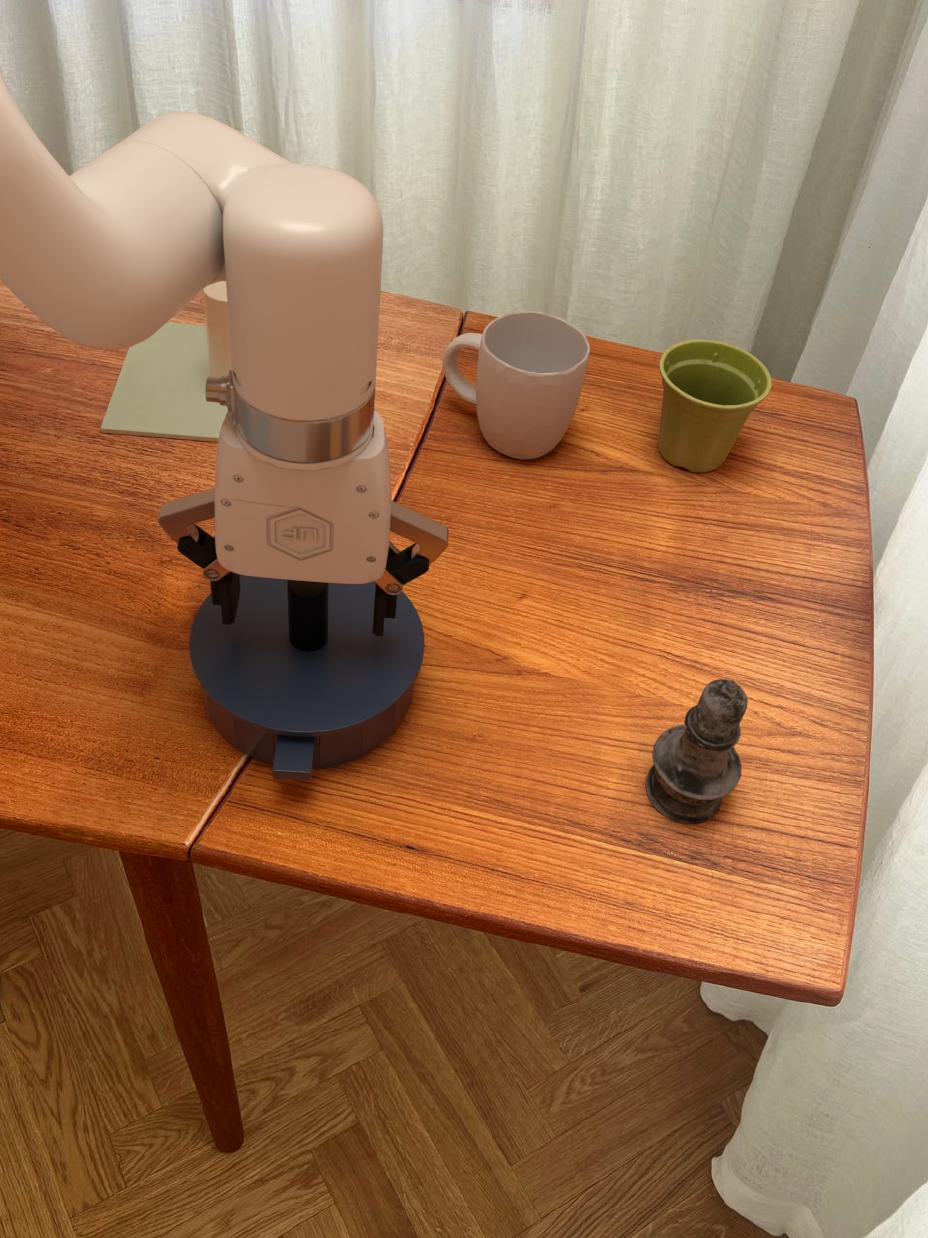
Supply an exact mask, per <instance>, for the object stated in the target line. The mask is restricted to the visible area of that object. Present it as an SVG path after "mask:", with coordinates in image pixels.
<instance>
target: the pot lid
mask: <svg viewBox="0 0 928 1238" xmlns="http://www.w3.org/2000/svg"><path fill="white" fill-rule="evenodd" d="M239 576H240V597H239V602H238V607H237V612H236V617H235V622H234V623H231V625H225V624H223V623H222V613H221V605H213V603H212V594H211V592H210V593H209V594H208V596H206V597H205V599H204V601H203V602H202V604H200V606H199V608H198V610H197V612H196V613H195V615H194V618H193V622H192V624H191V627H190V633H189V638H188V639H189V640H188V644H189V645H188V648H189V658H190V662H191V667H192V671H193V673H194V675H195V678H196V680H197V682H198V683H199V686H200V685H201V687H202V689H203V690H204V692H205V693H206V694H207V695H208V696H209V697H210V699H211V700H212V701H213V702H214V703H215V704H216V705H218V706H219V707H220V708H221V709H222V710H223V711H225V712H226V713H228V714H229V715H231V716H232V717H234V718H235V719H237V720H239V721H241V722H243V723H245V724H247V725H249V726H252V727H255V728H258V729H260V730H263V731H267V732H272V733H276V734H281V735H289V736H322V735H330V734H335V733H340V732H345V731H348V730H351V729H354V728H357V727H360V726H362V725H364V724H367V723H369V722H371V721H373V720H375V719H376V718H378V717H380V716H381V715H383V714H385V713H386V712H387V711H389V710H390V709H391V708H392V707H394V706H395V705H396V704H397V703H398V702H399V701H400V700H401V699H402V698H403V697H404V696H405V695H406V694H407V692H408V691H409V689H410V688H411V687H412V685H413V684H414V685H415V681H416V680H417V678H418V676H419V674H420V672H421V668H422V665H423V662H424V654H425V647H426V645H425V632H424V627H423V623H422V620H421V618H420V615H419V612H418V610H417V609H416V607H415V605H414V604H413V602H412V601H411V600H410V597H408V596H407V594H406V593H405V592H404V590H402V592H401V593H400V594H398V595H397V604H396V616H395V619H394V618H384V630H383V636H375V634H372V631H373V616H374V600H375V588H376V583H375V582H370V583H365V584H342V583H327V582H312V581H299V580H287V579H276V578H264V577H255V576H246V575H241V574H239Z"/></svg>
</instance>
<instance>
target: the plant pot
mask: <svg viewBox="0 0 928 1238" xmlns="http://www.w3.org/2000/svg"><path fill="white" fill-rule="evenodd" d="M658 367H659V374H660V376H661V378H662V379H661V381H662V382H661V383H662V388H663V391H662V392H663V394H662V402H661V411H660V421H659V429H658V437H657V438H658V439H657V448H658V452H659V453H660V455H661V457H662V458H663V459H664V460H665V461H666V462H667V463H669V464H670V465H672V466H673V467H680V468H684V469H686V470H688V471H689V472H691V473H708V472H712V471H715V470H717V469H718V468H720V467H722V466H723V463H724V462H725V461H726V459H727V457H728V455H729V453H730V451H731V450H732V447H733V446H734V444H735V442H736V440H737V438H738V436H739V435H740V433H741V431H742V430H743V428H744V425H745V423H746V422H747V420H748V418H749V416H750V415H751V413H752V412H753V411H754V410H755V409H756V407H757V406H758V405H760V404H761V403H762V402H763V401H764V400H765V399H766V398H767V397H768V395H769V394H770V392H771V388H772V377H771V374H770V372H769V370H768V369H767V367H766V365H764V363H762V361H760V360H759V358H758V357H756V356H755V355H753V354H751V353H750V352H748V351H746V350H745V349H743V348H741V347H738V346H736V345H733V344H731V343H727V342H724V341H719V340H711V339H689V340H685V341H680V342H678V343H675V344H673V345H671V346H670V347H668V348H667V349H665V351H664V352H663V353H662V355H661V357H660V359H659V366H658Z"/></svg>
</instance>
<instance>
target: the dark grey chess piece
mask: <svg viewBox="0 0 928 1238" xmlns="http://www.w3.org/2000/svg"><path fill="white" fill-rule="evenodd" d="M748 701H749V700H748V696H747V694H746V692H745V690H744V689H743V687H741V685H739V684H738V683H737V682H735V680H733V679H727V678H718V679H713V680H711V681H710V682H708V684H706V686H704V688H703V689H702V692H701V694H700V697H699V699H698V701H697V704H696V705H693V706H691V708H690V709H689V710H688V711H686V715H685V716H684V722H683V723H684V724H679V725H673V726H672V727H670V728H667V729H666V730H664V731H662V732H661V734H660V735H658V737H657V738H656V740H655V742H654V745H653V747H652V762H653V765H652V766H651V767H650V769H649V771H648V773H647V774H646V777H645V784H644V786H645V792H646V796H647V798H648V799H649V802H650V804H651V805H652V806H653V807H654V809H656V811H657V812H659V813H660V814H661V815H662V816H664V817H665V818H667V819H669V820H671V821H673V822H675V823H679V824H684V825H699V824H703V823H706V822H708V821H710V820H712V819H713V818H714V817H715V816H716V815H717V814H718V813H719V812H720V809H721V806H722V805H723V799H724V797H726V796H727V795H729V794H731V793H732V792H733V791H734V790H735V788H736V787H738V784H739V783H740V781H741V777H742V768H743V767H742V763H741V758H740V755H739V754H738V752H737V750H736V749H735V746H736V745H737V744H738V743H739V741H740V739H741V733H742V729H741V725H740V724H741V722H742V720H743V718H744V716H745V714H746V712H747V709H748V705H749V704H748Z"/></svg>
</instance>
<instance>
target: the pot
mask: <svg viewBox="0 0 928 1238" xmlns="http://www.w3.org/2000/svg"><path fill="white" fill-rule="evenodd" d="M414 685H415V683H414V684H413V685H412V687H411V688H410V689H409V691H408V692H407V694H406V695H405V696H404V697H403V698H402V699H401V700H400V701H399V702H398V703H397V704H396V705H395V706H394V707H392V708H391V709H390V710H389V711H387V712H386V713H385V714H383V715H381V716H380V717H378V718H376V719H375V720H373V721H371V722H369V723H367V724H364V725H362V726H360V727H357V728H354V729H351V730H348V731H345V732H340V733H335V734H330V735H322V736H289V735H281V734H276V733H272V732H267V731H263V730H260V729H258V728H255V727H252V726H249V725H247V724H245V723H243V722H241V721H239V720H237V719H235V718H234V717H232V716H231V715H229V714H228V713H226V712H225V711H223V710H222V709H221V708H220V707H219V706H218V705H216V704H215V703H214V702H213V701H212V700H211V699H210V697H209V696H208V695H207V694H206V693H205V692H204V690H203V689H202V687H201V685H200V684H199V690H200V692H201V695H202V700H203V704H204V709H205V710H206V713H207V715H208V716H207V717H208V718H209V720H210V722H211V723H212V725H213V726H214V728H215V729H216V731H217V732H218V733H219V734H220V736H222V738H223V739H224V740H225V741H226V742H228V743H229V744H230V745H231V746H232V747H234V749H236V750H238V751H239V752H241V753H242V754H244V755H246V756H248V757H249V758H252V759H254V760H256V761H258V762H262V763H264V764H267V765H270V766H272V770H271V771H272V773H271V774H272V779H273V780H279V781H295V782H296V781H297V782H312V778H313V770H321V769H329V768H333V767H338V766H342V765H345V764H348V763H351V762H354V761H356V760H358V759H361V758H362V757H365V756H367V755H368V754H370V753H371V752H373V751H375V750H376V749H378V748H379V747H380V746H382V745H383V744H384V743H385V742H387V741H388V740H389V739H390V738H391V737H392V735H393V734H394V733H395V732H396V731H397V730H398V728H399V727H400V725H401V724H402V723H403V721H404V719H405V717H406V714H407V713H408V711H409V708H410V706H411V704H412V702H413V696H414Z"/></svg>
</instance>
